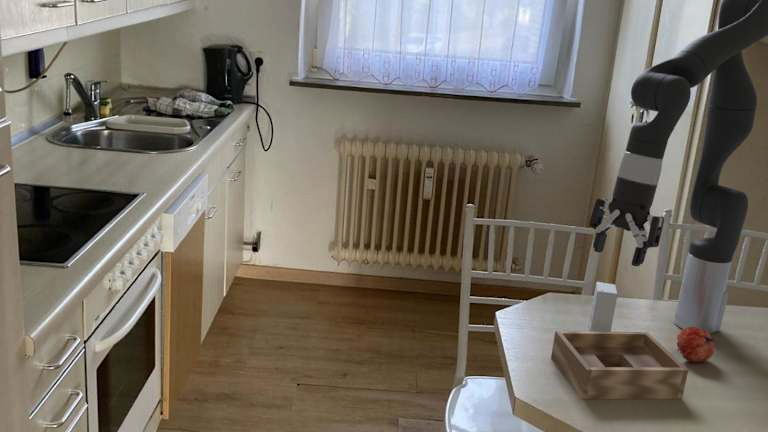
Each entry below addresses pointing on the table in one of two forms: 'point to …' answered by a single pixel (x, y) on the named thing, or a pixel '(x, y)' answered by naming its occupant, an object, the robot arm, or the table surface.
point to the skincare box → (603, 307)
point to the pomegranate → (695, 344)
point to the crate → (618, 365)
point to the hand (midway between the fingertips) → (616, 258)
